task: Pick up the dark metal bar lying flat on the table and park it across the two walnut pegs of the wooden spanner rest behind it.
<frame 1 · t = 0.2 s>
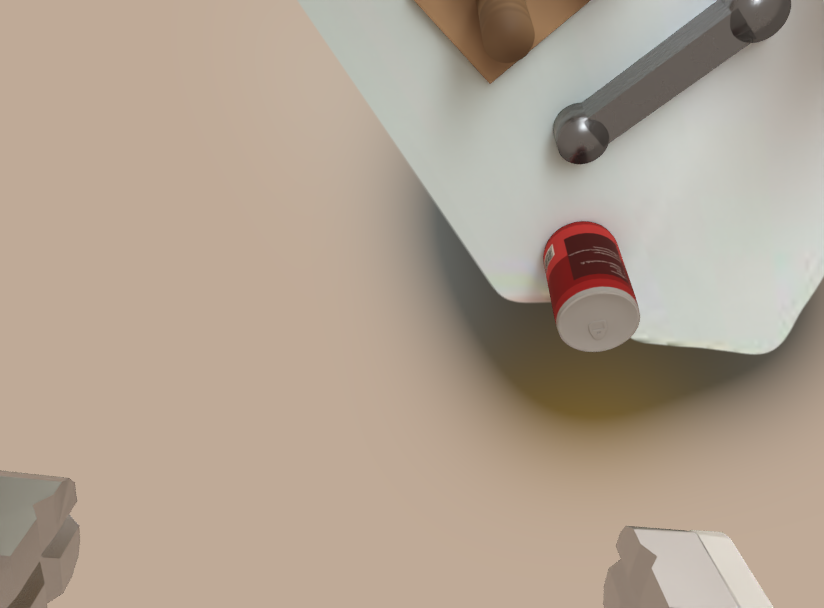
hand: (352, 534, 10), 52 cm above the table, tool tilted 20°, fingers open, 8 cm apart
canned food: (578, 248, 72), on the table
metal bar: (656, 66, 59), on the table
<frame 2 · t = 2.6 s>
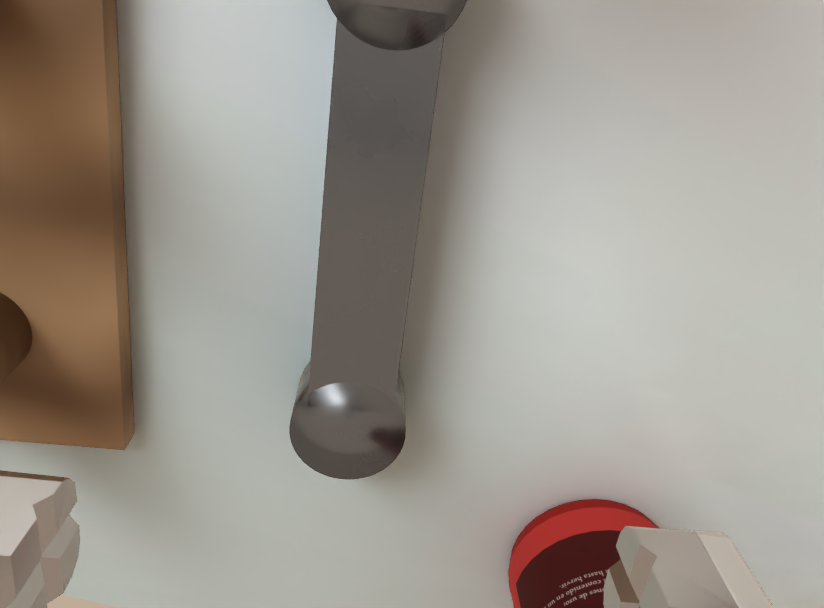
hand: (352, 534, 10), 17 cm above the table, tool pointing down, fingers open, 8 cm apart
canned food: (585, 554, 33), on the table
metal bar: (371, 207, 26), on the table
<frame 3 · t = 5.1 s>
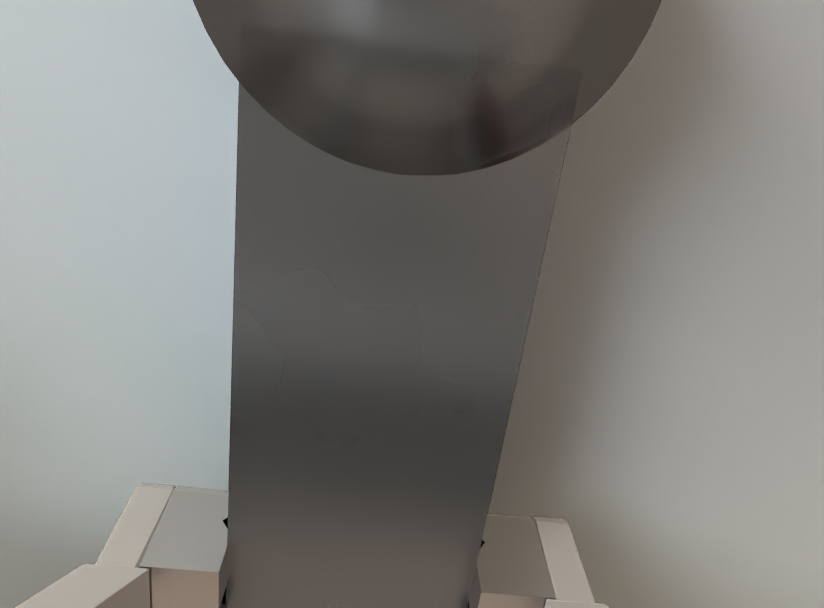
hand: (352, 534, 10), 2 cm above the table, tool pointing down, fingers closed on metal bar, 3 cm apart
metal bar: (358, 464, 12), on the table, touching gripper
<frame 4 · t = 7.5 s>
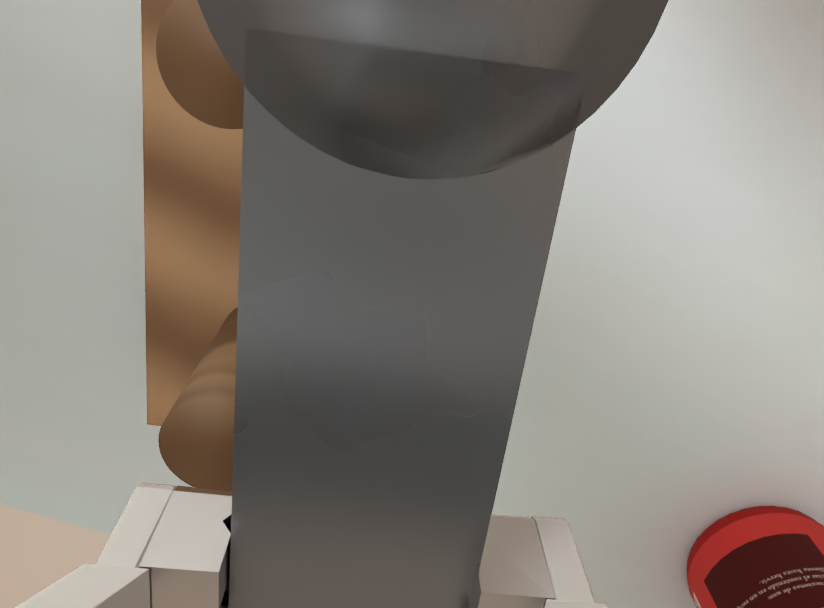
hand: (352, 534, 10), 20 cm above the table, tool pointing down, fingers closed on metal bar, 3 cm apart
canned food: (755, 557, 36), on the table
metal bar: (360, 466, 12), point 18 cm above the table, touching gripper
spanner rest: (276, 196, 29), on the table
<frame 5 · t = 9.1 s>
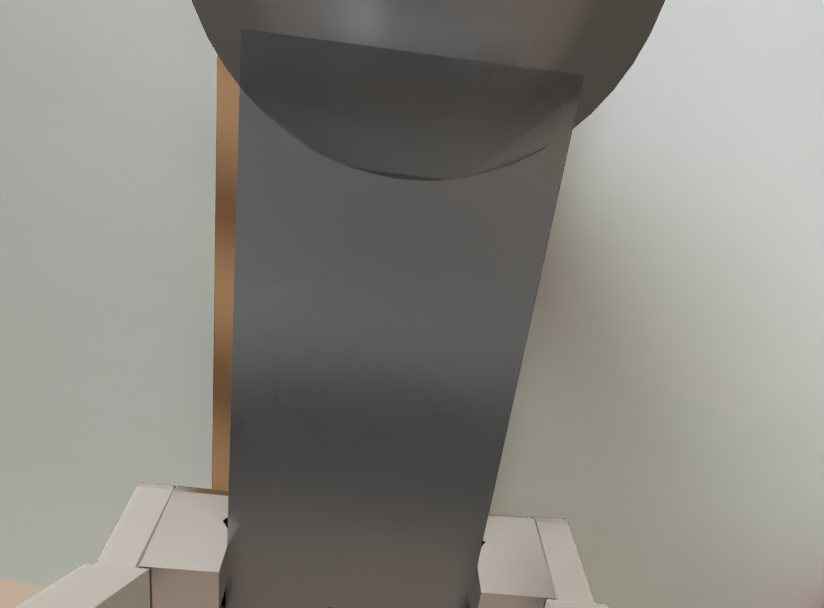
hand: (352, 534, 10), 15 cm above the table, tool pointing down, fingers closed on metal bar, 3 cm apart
metal bar: (358, 467, 12), point 13 cm above the table, touching gripper
spanner rest: (371, 229, 24), on the table
when the fingers open (12 cm above the table, at t = 10.2 s): metal bar drops 1 cm, resting on spanner rest.
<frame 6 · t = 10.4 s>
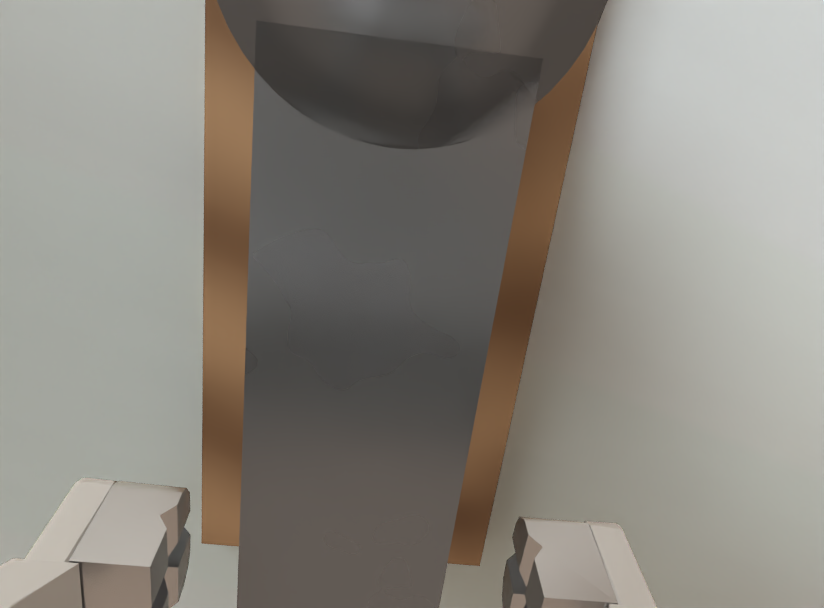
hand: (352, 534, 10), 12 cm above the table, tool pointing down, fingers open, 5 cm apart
metal bar: (357, 420, 13), point 9 cm above the table, touching spanner rest
spanner rest: (375, 257, 22), on the table
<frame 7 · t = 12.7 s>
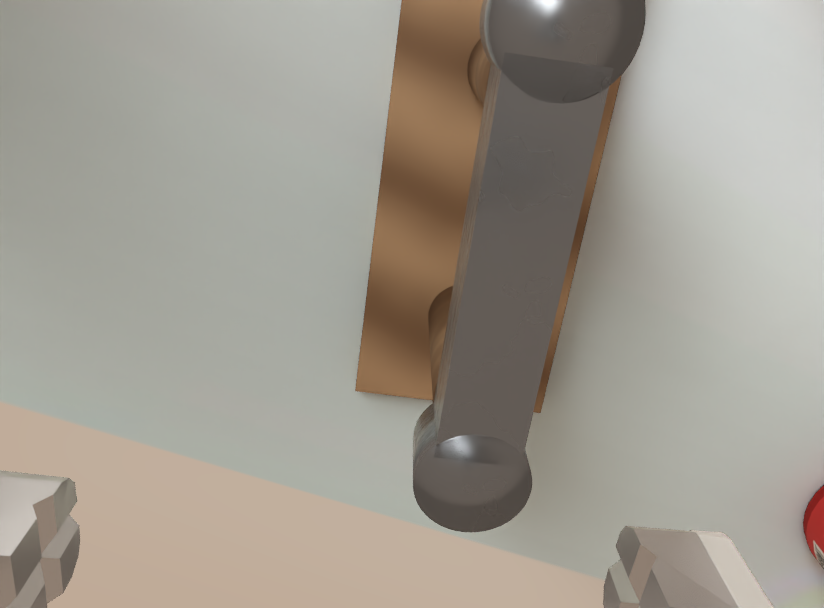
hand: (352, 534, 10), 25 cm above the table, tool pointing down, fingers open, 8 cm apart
metal bar: (502, 255, 25), point 9 cm above the table, touching spanner rest
spanner rest: (482, 195, 34), on the table
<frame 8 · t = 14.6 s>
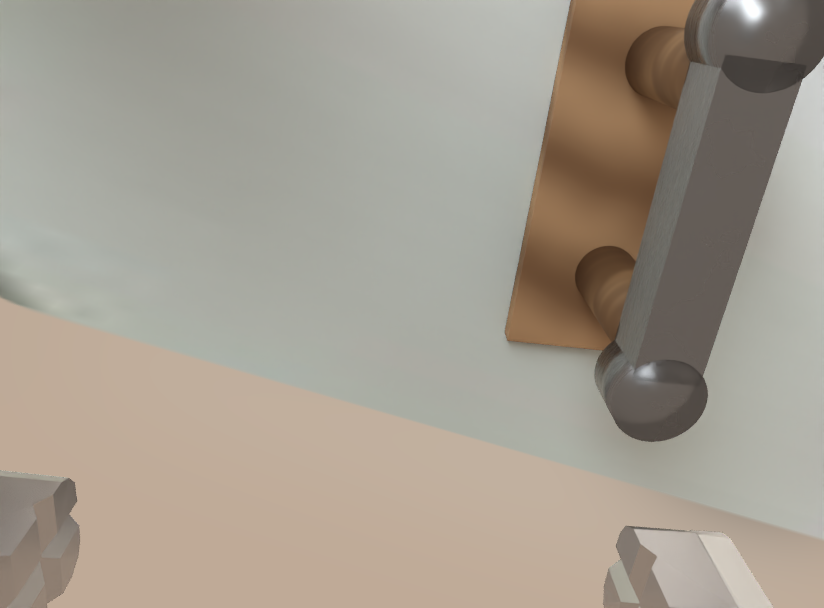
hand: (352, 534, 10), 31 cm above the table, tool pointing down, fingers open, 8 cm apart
metal bar: (683, 216, 31), point 9 cm above the table, touching spanner rest
spanner rest: (624, 170, 40), on the table
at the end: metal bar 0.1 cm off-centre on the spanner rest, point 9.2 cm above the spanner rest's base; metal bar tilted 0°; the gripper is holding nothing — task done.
